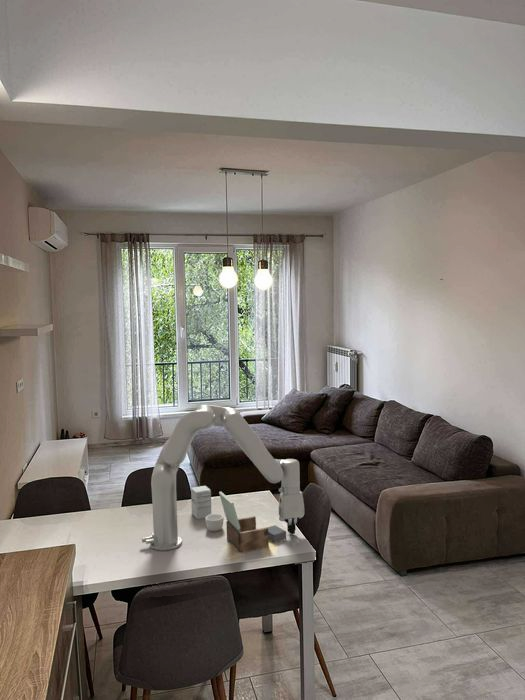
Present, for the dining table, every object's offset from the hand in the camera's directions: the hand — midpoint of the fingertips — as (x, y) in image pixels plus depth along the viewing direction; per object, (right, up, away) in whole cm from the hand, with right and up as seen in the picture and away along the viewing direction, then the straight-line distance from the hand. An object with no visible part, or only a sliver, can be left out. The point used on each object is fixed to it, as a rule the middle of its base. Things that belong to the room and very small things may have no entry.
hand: (291, 532), depth 228 cm
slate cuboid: (-7, -1, -3) cm, 8 cm away
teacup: (-32, -1, +8) cm, 33 cm away
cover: (-25, +12, -11) cm, 30 cm away
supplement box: (-40, 0, +23) cm, 46 cm away
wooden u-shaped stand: (-18, -2, -8) cm, 20 cm away
